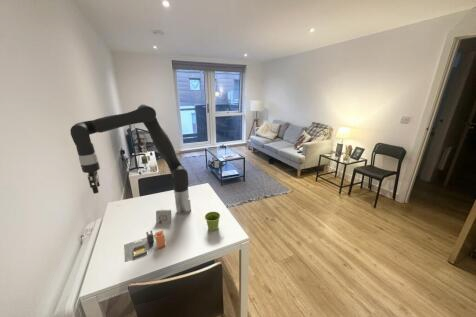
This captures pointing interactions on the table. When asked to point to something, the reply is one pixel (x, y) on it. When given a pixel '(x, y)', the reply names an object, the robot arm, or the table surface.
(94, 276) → the table surface
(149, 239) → the breaker slider
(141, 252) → the panel
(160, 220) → the electrical switch
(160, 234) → the cap
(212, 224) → the plant pot
